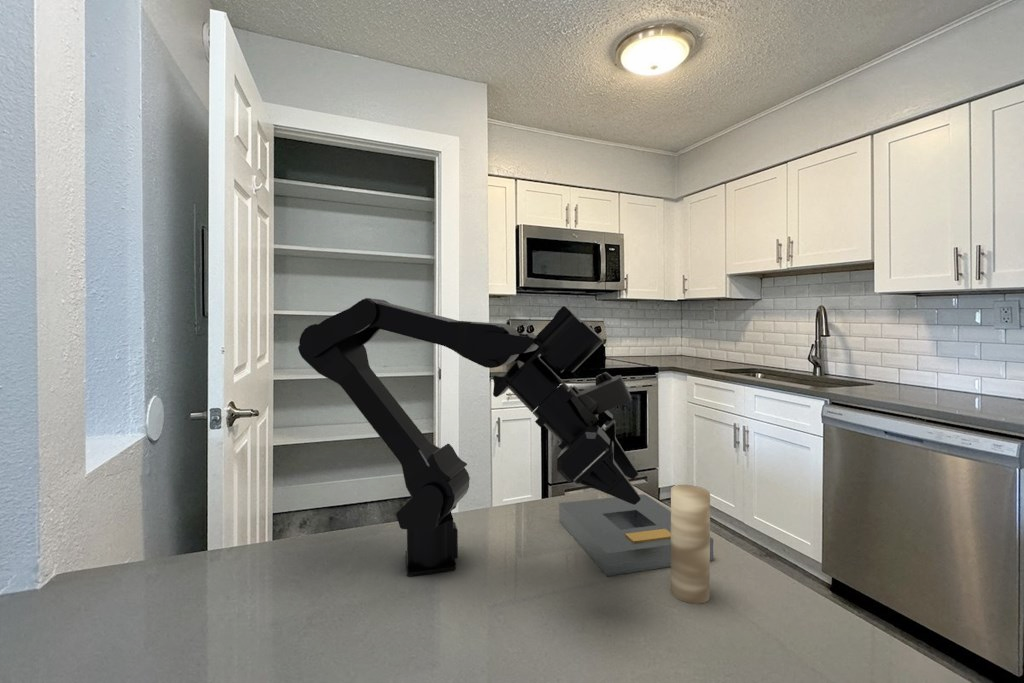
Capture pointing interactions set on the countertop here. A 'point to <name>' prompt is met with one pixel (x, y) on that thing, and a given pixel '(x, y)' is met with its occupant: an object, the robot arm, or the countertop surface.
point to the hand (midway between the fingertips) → (636, 488)
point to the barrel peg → (690, 543)
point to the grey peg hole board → (621, 533)
